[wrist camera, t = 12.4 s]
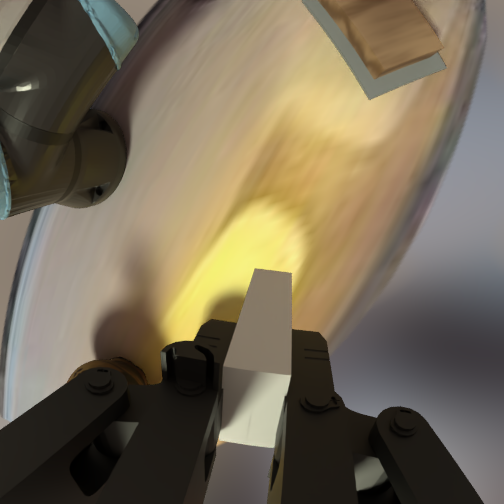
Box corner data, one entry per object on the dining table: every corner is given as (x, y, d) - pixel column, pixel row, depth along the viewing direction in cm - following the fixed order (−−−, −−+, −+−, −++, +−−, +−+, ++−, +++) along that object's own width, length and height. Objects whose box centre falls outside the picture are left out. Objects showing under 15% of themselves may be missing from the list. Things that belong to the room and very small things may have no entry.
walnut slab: (310, -28, 26) (384, 69, 29) (372, -45, 23) (444, 47, 26) (309, -10, 30) (374, 79, 33) (365, -28, 28) (429, 57, 31)
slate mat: (301, 1, 32) (301, 0, 31) (380, -23, 28) (381, -25, 28) (369, 100, 35) (370, 99, 34) (445, 68, 31) (446, 67, 31)
